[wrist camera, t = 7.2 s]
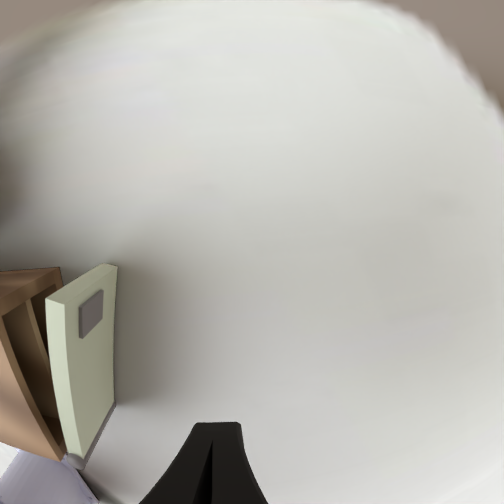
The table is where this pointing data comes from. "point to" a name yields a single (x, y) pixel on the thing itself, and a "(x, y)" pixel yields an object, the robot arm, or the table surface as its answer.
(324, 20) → the table surface
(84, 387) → the door
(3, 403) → the cabinet
